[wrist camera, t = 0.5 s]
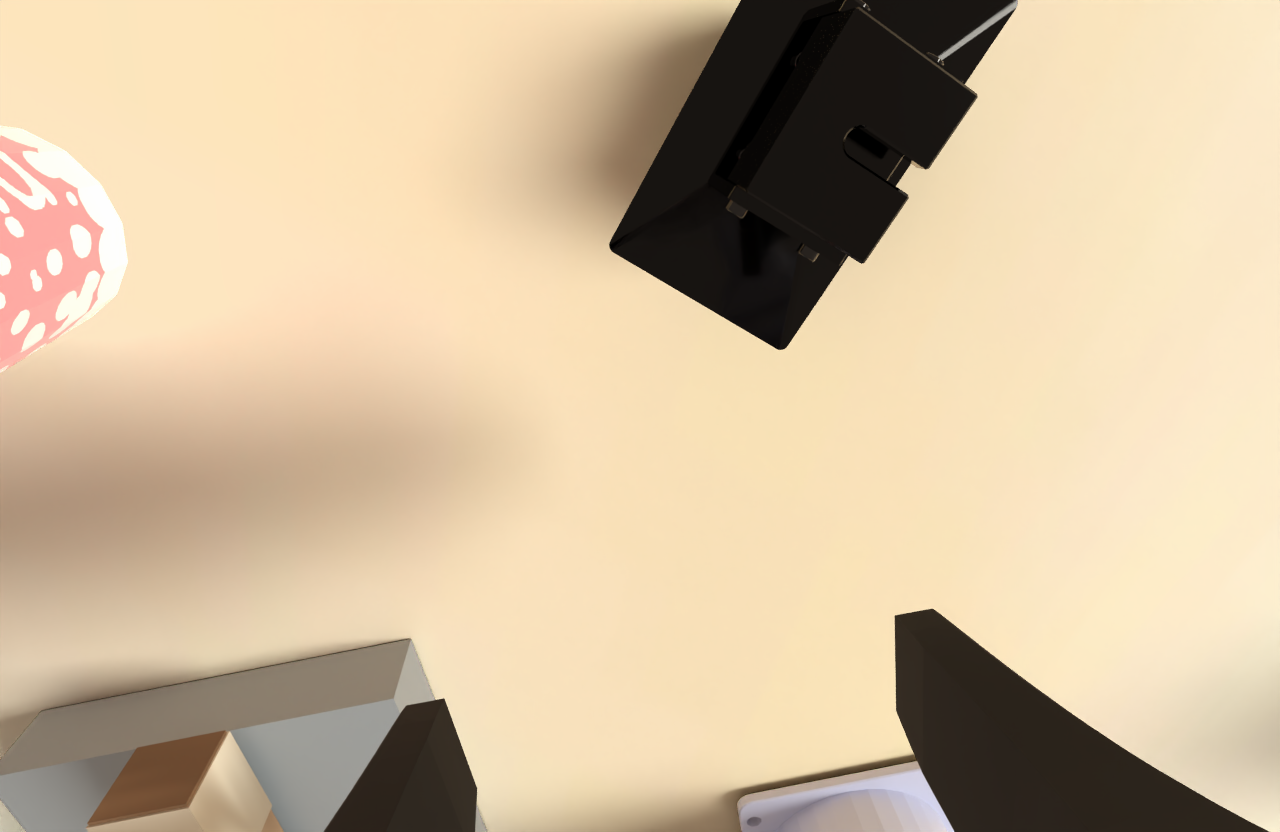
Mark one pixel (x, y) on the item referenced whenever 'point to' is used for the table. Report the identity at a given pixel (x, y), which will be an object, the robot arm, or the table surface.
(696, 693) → the table surface
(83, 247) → the beverage cup
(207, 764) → the lever
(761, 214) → the black blocky device
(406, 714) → the robot arm
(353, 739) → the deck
